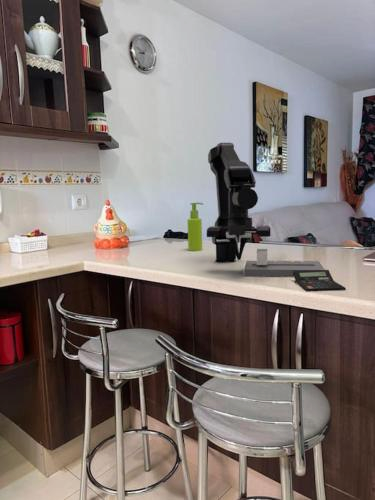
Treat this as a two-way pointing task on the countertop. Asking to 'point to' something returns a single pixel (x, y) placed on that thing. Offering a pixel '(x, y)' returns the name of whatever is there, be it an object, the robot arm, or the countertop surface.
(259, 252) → the fader
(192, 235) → the soap dispenser
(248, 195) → the robot arm
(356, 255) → the countertop surface
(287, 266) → the gray slotted panel
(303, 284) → the calculator
